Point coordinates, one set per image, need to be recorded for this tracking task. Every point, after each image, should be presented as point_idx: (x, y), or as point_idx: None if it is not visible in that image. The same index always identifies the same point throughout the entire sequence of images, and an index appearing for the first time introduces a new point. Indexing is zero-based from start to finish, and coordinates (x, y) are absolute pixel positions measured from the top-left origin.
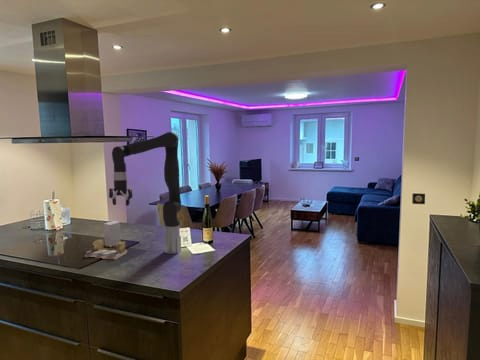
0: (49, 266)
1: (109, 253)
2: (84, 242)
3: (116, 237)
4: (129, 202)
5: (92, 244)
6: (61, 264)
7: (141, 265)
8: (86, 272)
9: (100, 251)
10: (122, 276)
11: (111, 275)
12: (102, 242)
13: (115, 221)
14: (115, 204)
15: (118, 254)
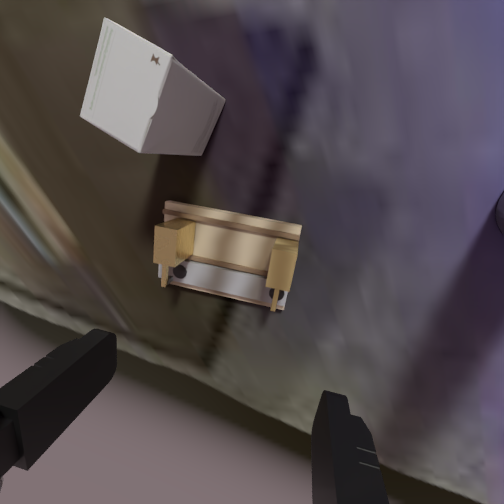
0: None
1: (249, 289)
2: (53, 91)
3: (202, 119)
4: (377, 458)
5: (163, 284)
6: (136, 335)
7: (400, 361)
8: (239, 395)
9: (204, 266)
10: None
11: None
12: (182, 233)
13: (128, 42)
14: (112, 349)
15: (287, 292)
